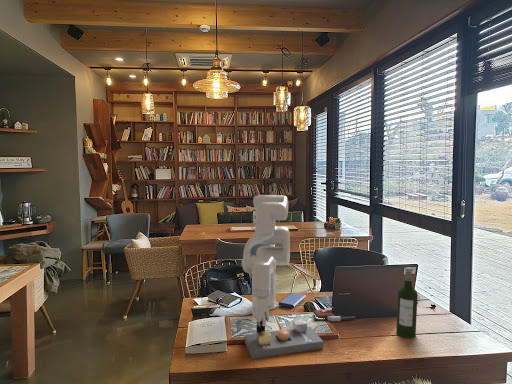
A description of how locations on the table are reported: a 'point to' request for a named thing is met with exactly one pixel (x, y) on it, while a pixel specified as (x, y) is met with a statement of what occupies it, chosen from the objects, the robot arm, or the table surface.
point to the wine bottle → (407, 308)
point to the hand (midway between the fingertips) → (260, 334)
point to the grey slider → (299, 325)
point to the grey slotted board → (284, 343)
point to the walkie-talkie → (329, 315)
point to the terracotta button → (283, 335)
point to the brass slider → (263, 337)
